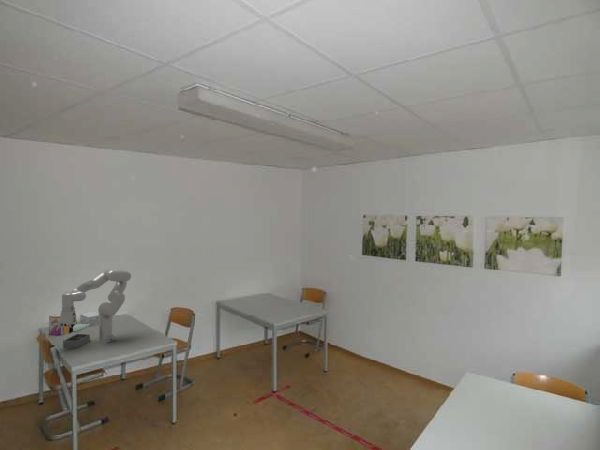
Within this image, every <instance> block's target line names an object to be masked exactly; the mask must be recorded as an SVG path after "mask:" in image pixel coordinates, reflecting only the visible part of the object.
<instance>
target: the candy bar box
mask: <svg viewBox="0 0 600 450" xmlns="http://www.w3.org/2000/svg"><path fill="white" fill-rule="evenodd" d="M60 315H61V314H51V315H49V316H48V335H50V336H63V335H65V334H64V333H63V327H62V326H61V325H60V324H59V322H60Z"/></svg>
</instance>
